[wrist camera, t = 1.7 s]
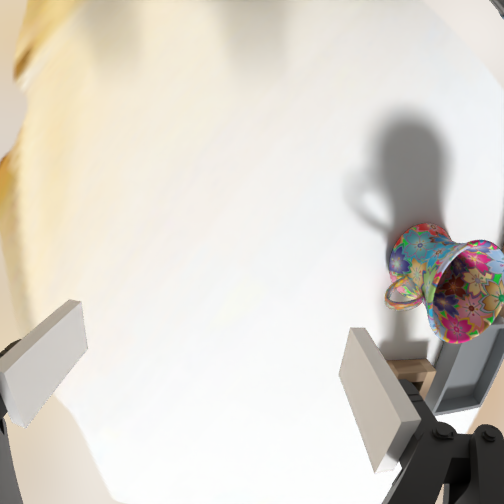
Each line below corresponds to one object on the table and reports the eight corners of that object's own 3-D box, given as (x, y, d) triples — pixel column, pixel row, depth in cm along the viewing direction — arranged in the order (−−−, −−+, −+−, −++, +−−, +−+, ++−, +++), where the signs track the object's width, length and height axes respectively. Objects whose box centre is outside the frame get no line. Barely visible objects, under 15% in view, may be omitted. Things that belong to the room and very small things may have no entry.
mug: (450, 211, 31) (511, 231, 21) (452, 288, 33) (503, 326, 23) (354, 230, 32) (397, 260, 21) (362, 312, 34) (398, 366, 24)
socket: (380, 360, 36) (388, 374, 33) (426, 358, 36) (436, 371, 33) (365, 403, 37) (371, 418, 34) (410, 400, 37) (417, 413, 35)
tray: (453, 313, 34) (468, 325, 31) (503, 313, 34) (517, 323, 31) (420, 401, 38) (429, 416, 34) (470, 394, 38) (480, 406, 34)
